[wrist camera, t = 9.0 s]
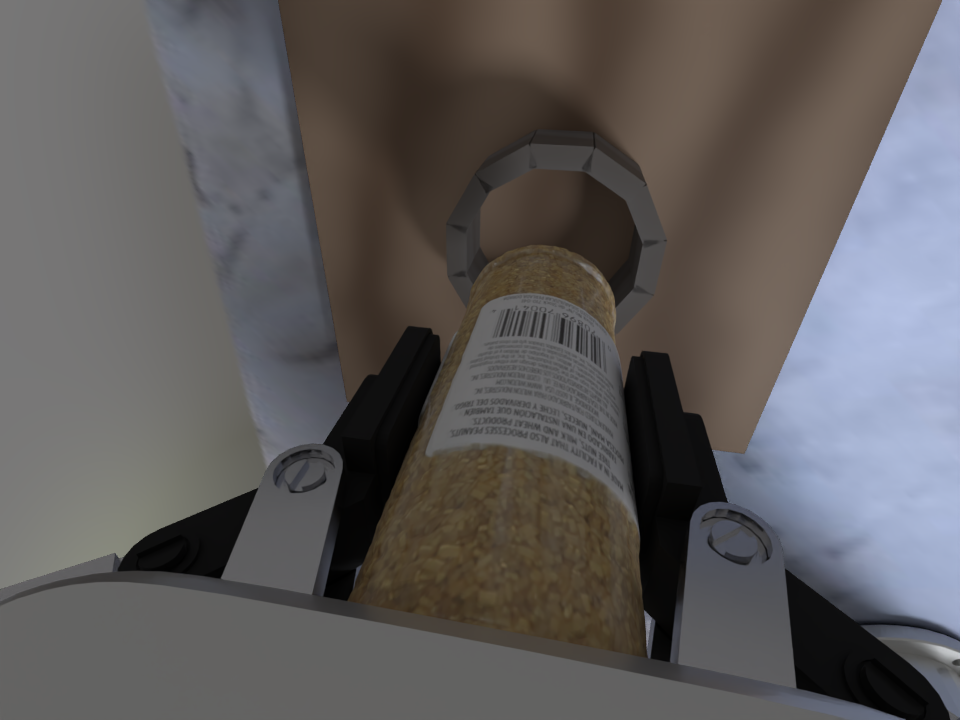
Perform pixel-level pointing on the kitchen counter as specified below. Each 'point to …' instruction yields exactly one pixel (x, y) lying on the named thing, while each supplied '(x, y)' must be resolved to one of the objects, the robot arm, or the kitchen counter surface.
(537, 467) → the sprinkles bottle
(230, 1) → the kitchen counter surface
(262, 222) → the kitchen counter surface
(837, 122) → the collar board
